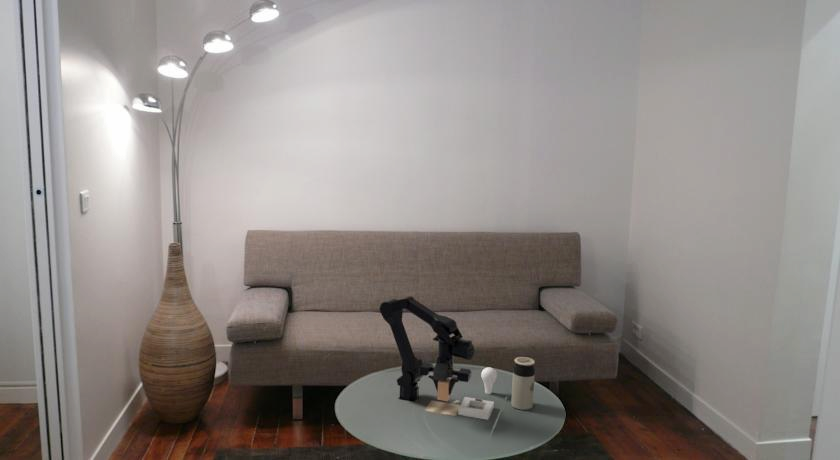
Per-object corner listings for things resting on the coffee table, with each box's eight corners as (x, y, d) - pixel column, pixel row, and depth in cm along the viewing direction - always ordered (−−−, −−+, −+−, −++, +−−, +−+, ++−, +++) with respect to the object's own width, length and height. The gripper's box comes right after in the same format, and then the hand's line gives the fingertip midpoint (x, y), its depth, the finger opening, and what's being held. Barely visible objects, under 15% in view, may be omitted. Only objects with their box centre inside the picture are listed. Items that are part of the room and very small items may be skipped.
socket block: (458, 416, 218) (458, 406, 217) (464, 404, 227) (465, 395, 227) (488, 421, 215) (488, 411, 214) (493, 409, 224) (493, 400, 223)
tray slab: (424, 411, 220) (424, 410, 220) (431, 401, 229) (431, 400, 229) (455, 417, 217) (455, 416, 216) (461, 406, 225) (461, 405, 225)
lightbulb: (495, 398, 233) (496, 371, 231) (479, 396, 234) (480, 370, 232) (496, 392, 239) (497, 365, 237) (481, 390, 240) (482, 364, 238)
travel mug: (507, 405, 227) (509, 360, 225) (518, 399, 233) (521, 355, 230) (524, 412, 222) (527, 366, 219) (536, 405, 228) (539, 360, 225)
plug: (437, 399, 220) (438, 380, 219) (440, 395, 224) (441, 376, 223) (447, 401, 219) (448, 382, 218) (450, 396, 223) (451, 378, 222)
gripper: (414, 357, 214) (413, 398, 217) (465, 365, 209) (463, 407, 211) (423, 347, 225) (422, 386, 227) (472, 354, 219) (470, 394, 222)
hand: (444, 393), depth 222 cm, fingers closed on plug, 4 cm apart
